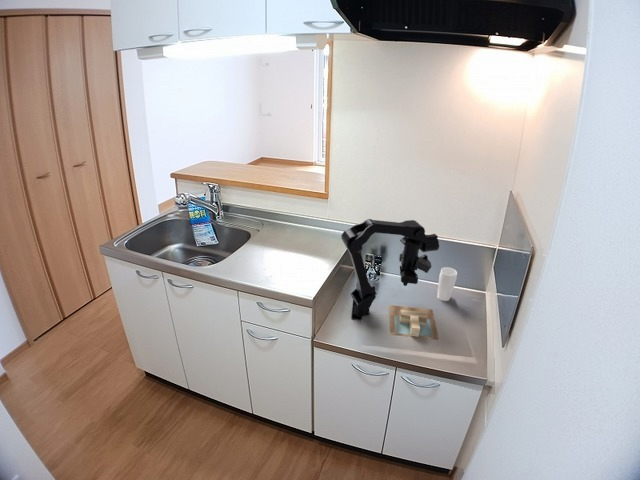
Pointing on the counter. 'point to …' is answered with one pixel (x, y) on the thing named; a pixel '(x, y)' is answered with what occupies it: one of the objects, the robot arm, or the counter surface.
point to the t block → (413, 320)
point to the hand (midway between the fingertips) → (405, 285)
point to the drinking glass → (446, 283)
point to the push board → (403, 328)
